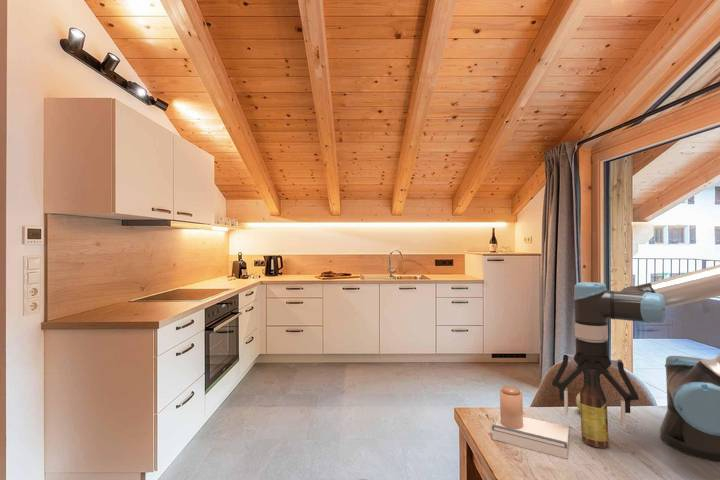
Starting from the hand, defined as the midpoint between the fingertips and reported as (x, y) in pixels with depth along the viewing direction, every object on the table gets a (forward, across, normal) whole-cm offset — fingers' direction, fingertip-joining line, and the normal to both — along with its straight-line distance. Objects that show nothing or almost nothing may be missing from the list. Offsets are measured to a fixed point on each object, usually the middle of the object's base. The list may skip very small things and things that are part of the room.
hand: (593, 418), depth 97 cm
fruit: (+7, +1, -19) cm, 20 cm away
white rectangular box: (+6, +15, +6) cm, 17 cm away
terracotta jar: (+4, +20, +6) cm, 21 cm away
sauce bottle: (+7, 0, 0) cm, 7 cm away
